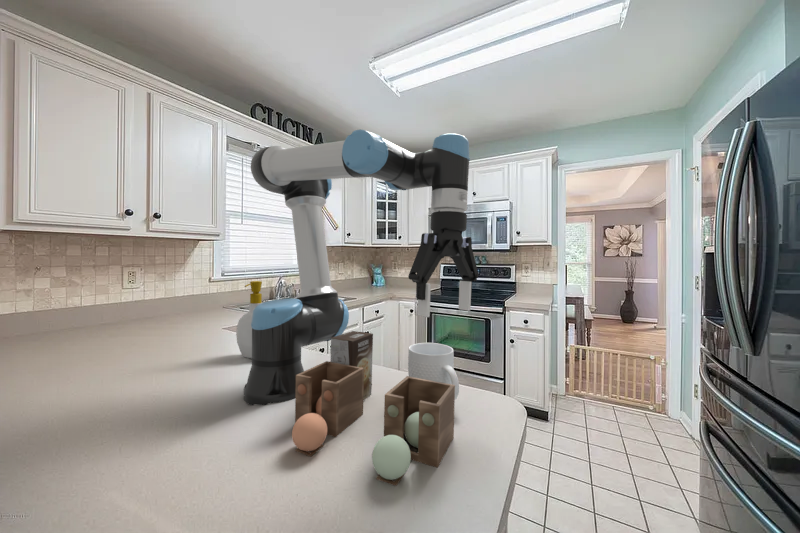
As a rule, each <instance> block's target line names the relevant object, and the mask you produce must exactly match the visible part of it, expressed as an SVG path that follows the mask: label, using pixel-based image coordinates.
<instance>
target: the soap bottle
mask: <svg viewBox="0 0 800 533" xmlns="http://www.w3.org/2000/svg"><path fill="white" fill-rule="evenodd" d="M262 284H263V281H262V280H252V281H249V283H247V284H246V285H244V288H247V287H248V286H250V290H251V293H250V295H249V303H248V305H249V306H248V310H249V311H248V312H246V313H244V314H243V315H242V316H241V317H240V318H239V319H238V322H237V326H236V333H235V334H236V335H235V336H236V343H237V346H238V349H239V352H240V354H241V356H242V357H244V358H246V359H247V358H248V359H252V327H251V323H252V315H253V310H254V309H255V307H256V306H258V305H259V304H261V303H263V301H262V300H263V299H262V296H263V295H262V293H260V292H261V291H262Z"/></svg>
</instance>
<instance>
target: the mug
mask: <svg viewBox="0 0 800 533" xmlns="http://www.w3.org/2000/svg"><path fill="white" fill-rule="evenodd" d="M454 352H455V351H454V348H453V347H451V346H449V345H447V344H443V343H437V342H419V343H414V344H410V345H409V347H408V357H407V358H408V362H407V366H408V367H407V370H408V376H409V377H415V378H420V379H425V380H431V381H436V382H442V383H447V384H453V385H455V400H457V398H458V396H459V393H460V381H459V378H458V375H457V372H456V370H455V369H454V366H455V365H454V363H455V361H454V360H455V359H454V354H455V353H454Z"/></svg>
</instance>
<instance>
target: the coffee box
mask: <svg viewBox="0 0 800 533" xmlns="http://www.w3.org/2000/svg"><path fill="white" fill-rule="evenodd" d="M373 340H374V334H373V333H371V332H365V331H354V330H351V331H348V332H345V333H342V334H341V335H338V336H335V337H331V340H330V362H334V363H339V364H344V365H350V366H355V367H361V368H364V394H363V401H365V400H366V399H368V398H369V397H371V396H372V390H373V389H372V385H373V382H372V381H373V380H372V379H373V351H374V350H373V346H374V344H373V342H374V341H373Z"/></svg>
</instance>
